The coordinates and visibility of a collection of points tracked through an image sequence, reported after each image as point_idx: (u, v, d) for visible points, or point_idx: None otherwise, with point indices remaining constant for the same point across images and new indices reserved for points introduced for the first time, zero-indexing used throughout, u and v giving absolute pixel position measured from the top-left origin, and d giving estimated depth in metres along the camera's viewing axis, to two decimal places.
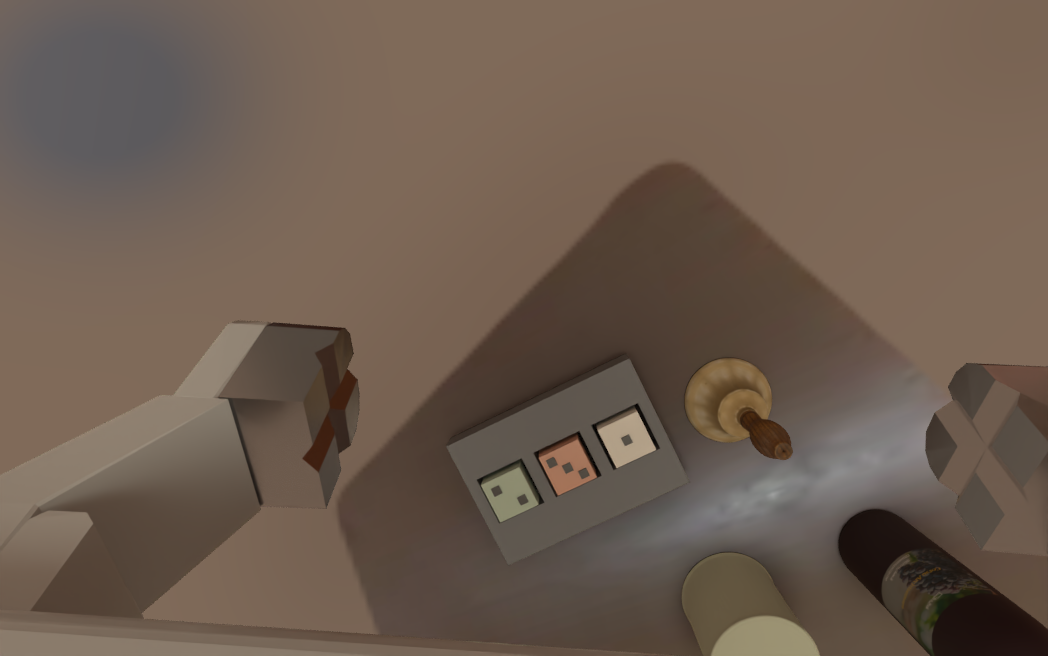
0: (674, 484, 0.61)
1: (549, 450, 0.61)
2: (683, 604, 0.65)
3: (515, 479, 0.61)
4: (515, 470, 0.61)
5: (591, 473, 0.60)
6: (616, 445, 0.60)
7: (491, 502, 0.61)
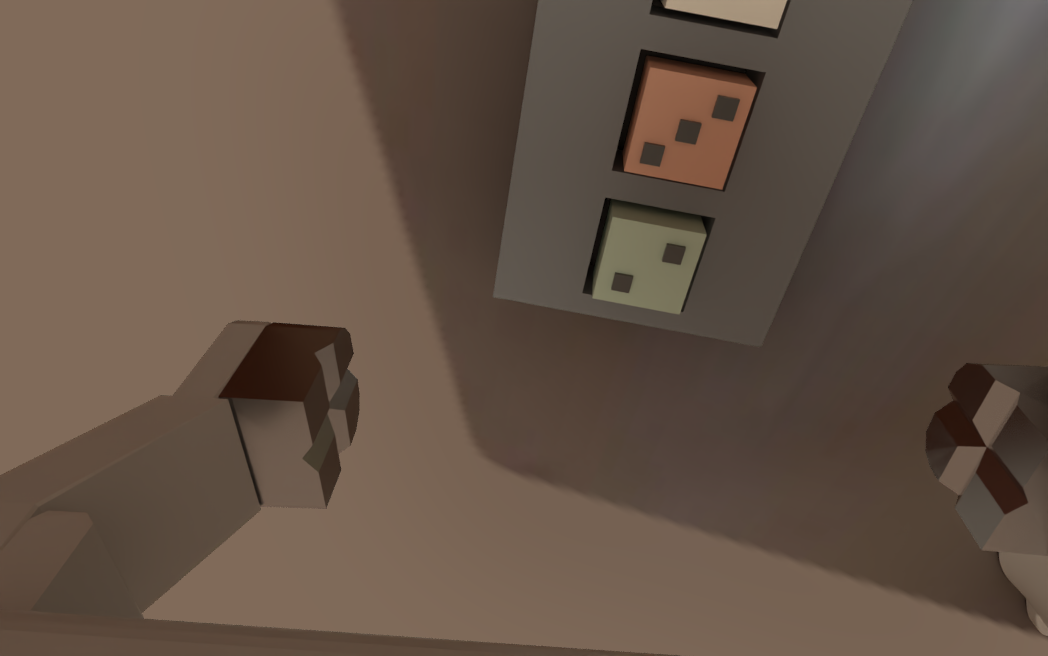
0: None
1: (630, 138, 0.26)
2: None
3: (628, 239, 0.28)
4: (613, 227, 0.28)
5: (739, 92, 0.24)
6: None
7: (634, 303, 0.29)
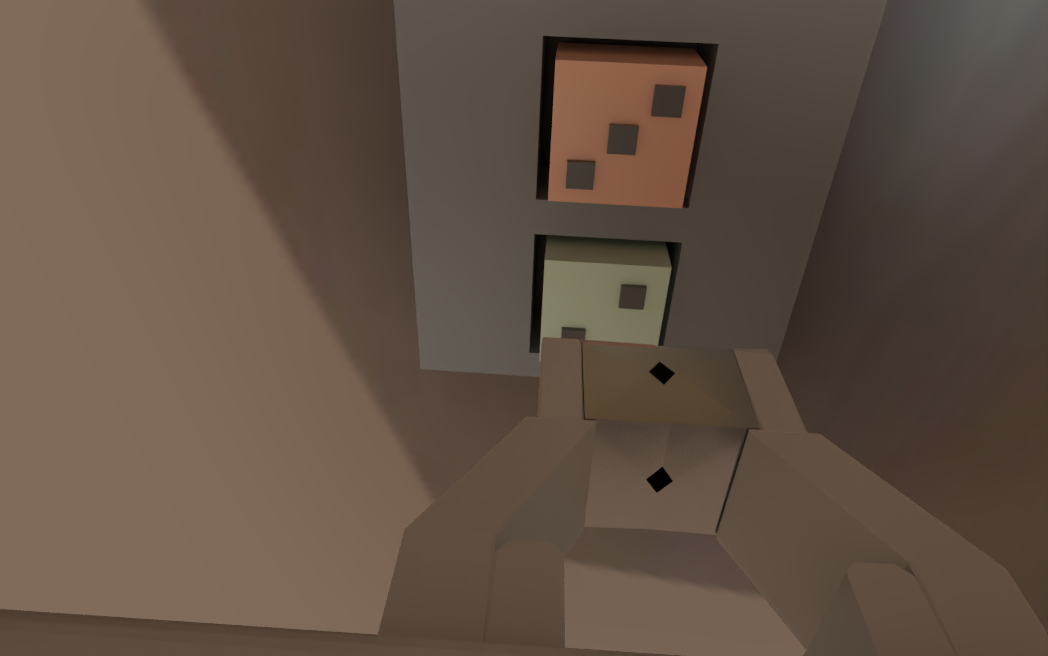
0: None
1: None
2: None
3: (571, 284, 0.21)
4: (548, 272, 0.21)
5: (683, 77, 0.17)
6: None
7: None
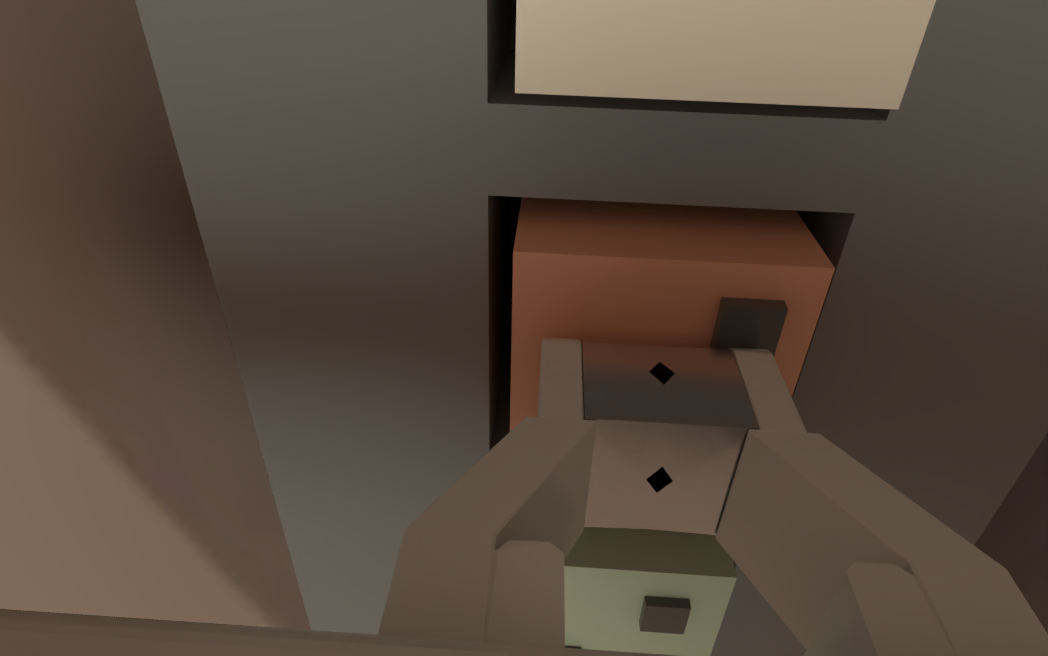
0: None
1: None
2: None
3: None
4: None
5: (783, 286, 0.08)
6: (725, 0, 0.06)
7: None
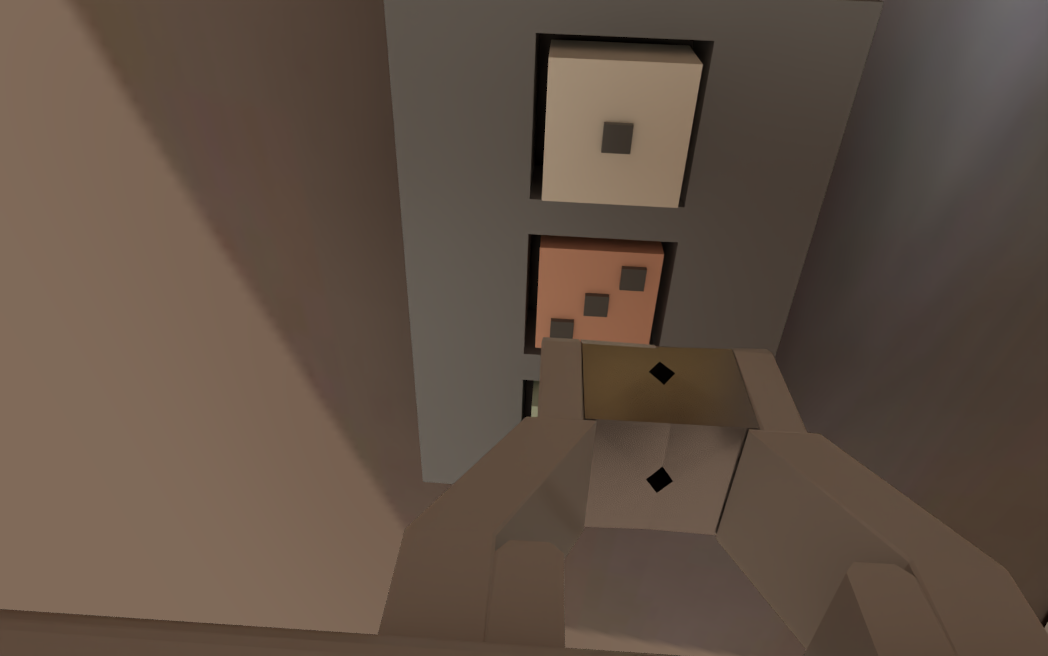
0: (850, 58, 0.18)
1: None
2: None
3: None
4: (534, 415, 0.24)
5: (645, 261, 0.21)
6: (614, 173, 0.19)
7: None
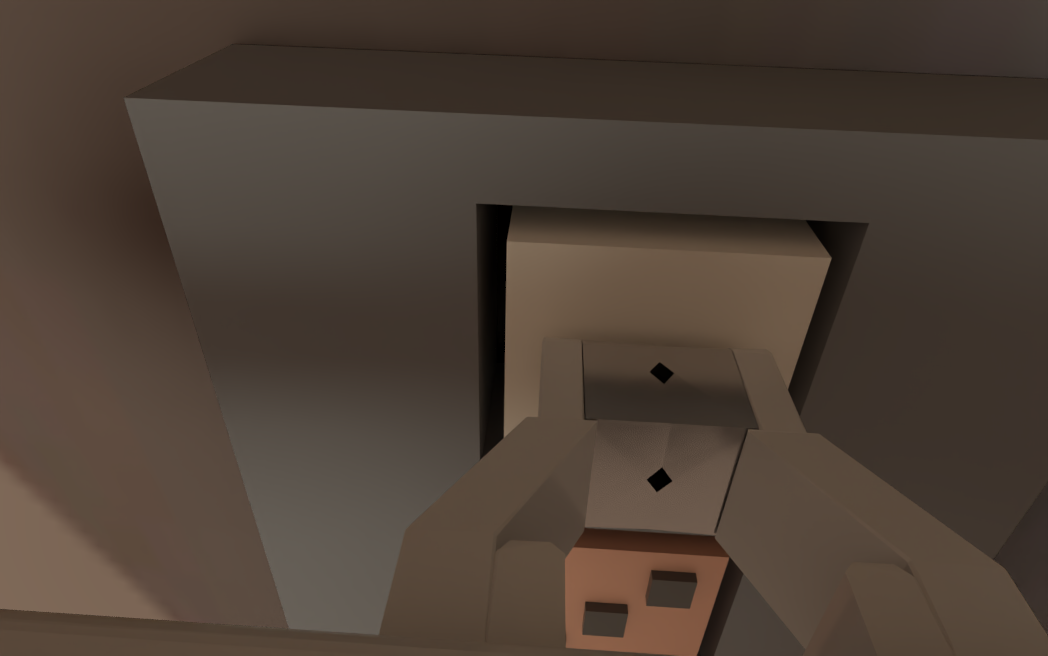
0: None
1: None
2: None
3: None
4: None
5: (694, 566, 0.12)
6: None
7: None
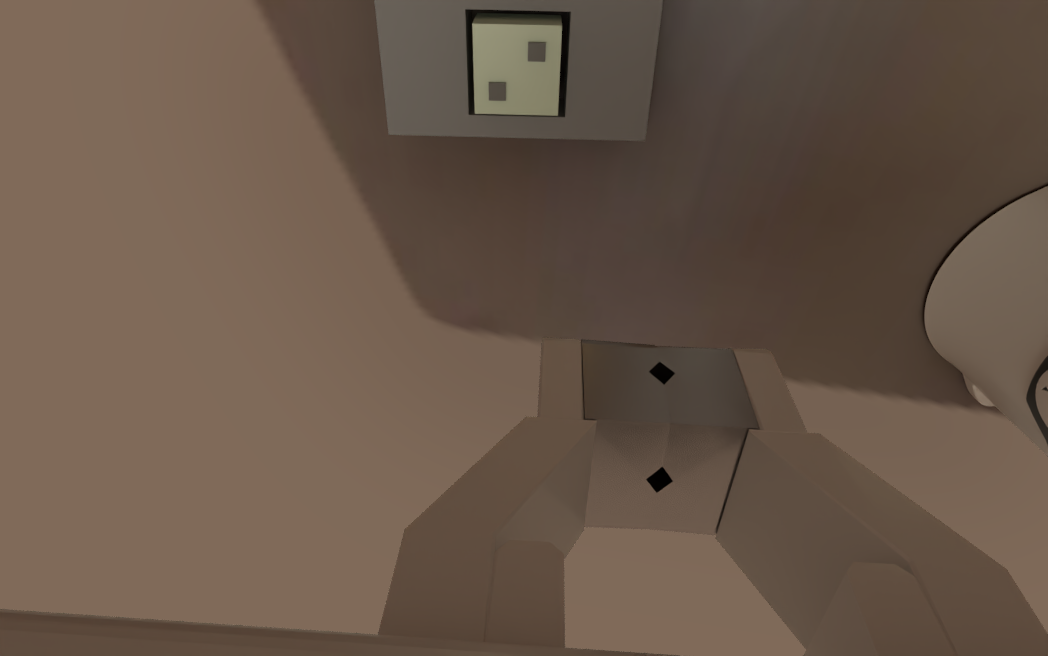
0: None
1: None
2: None
3: (492, 44, 0.30)
4: (475, 34, 0.29)
5: None
6: None
7: (514, 111, 0.31)
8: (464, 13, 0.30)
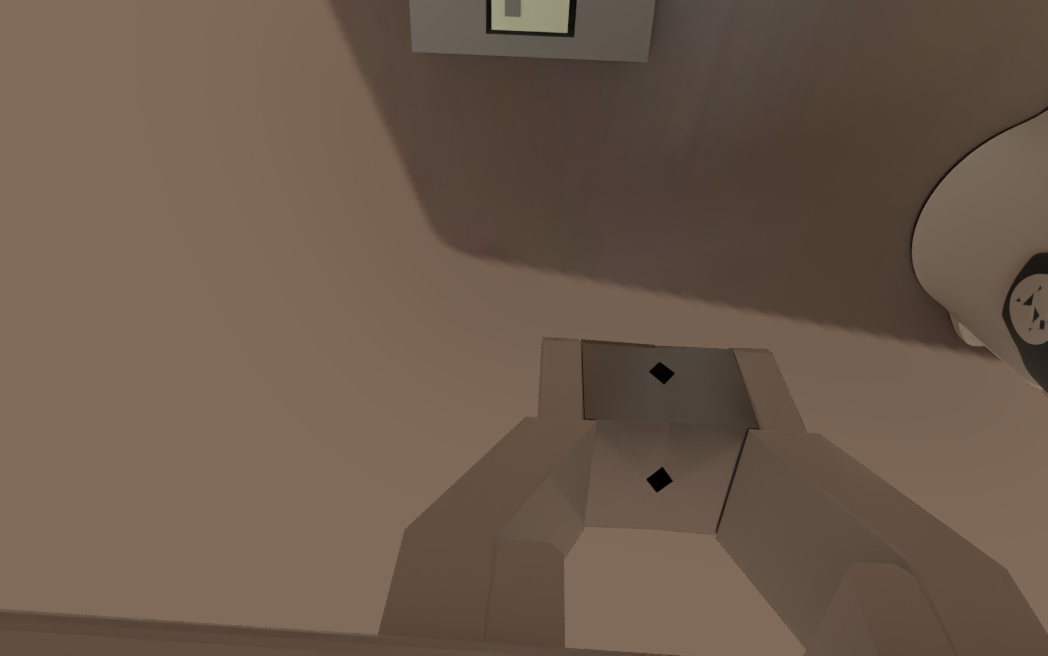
0: None
1: None
2: None
3: None
4: None
5: None
6: None
7: (527, 28, 0.34)
8: None
